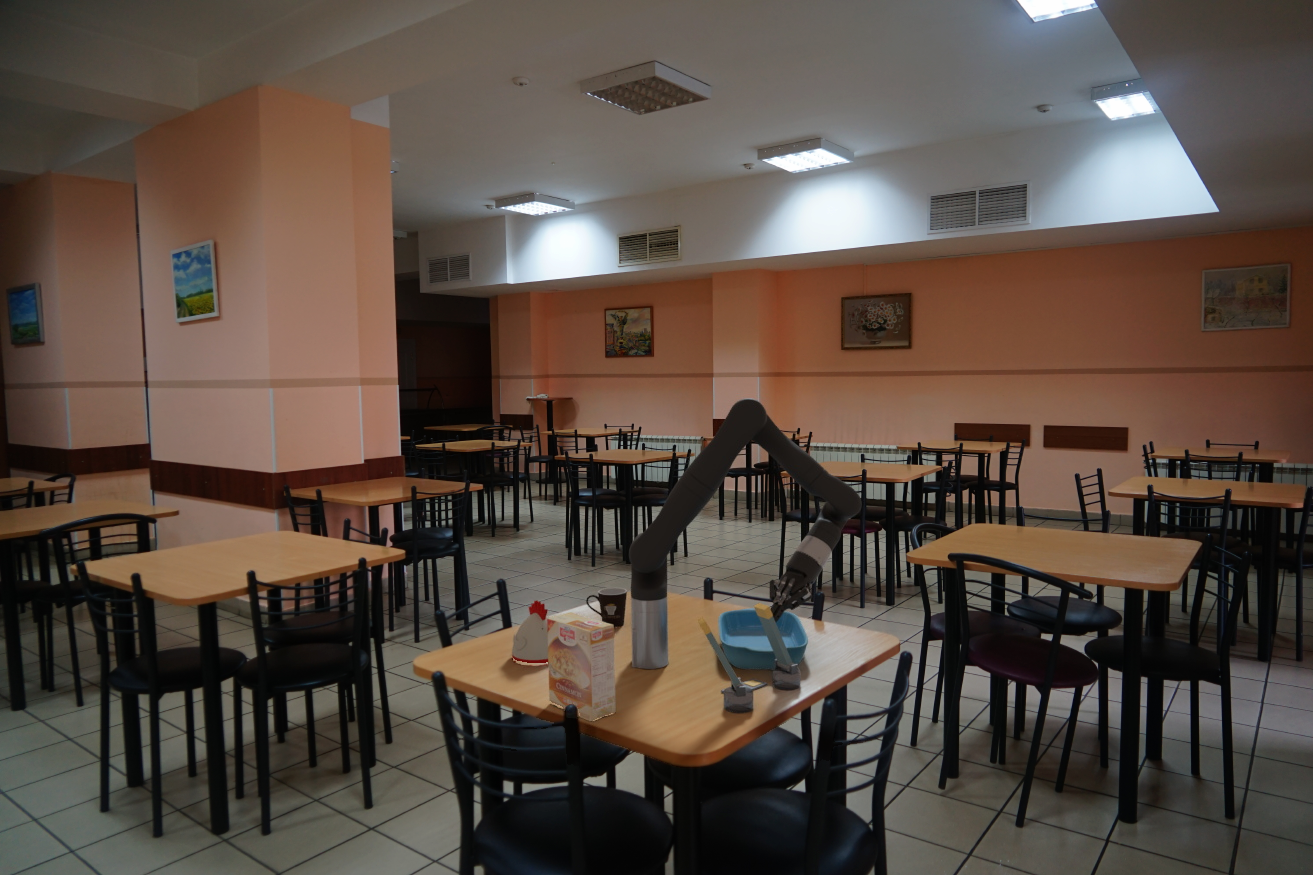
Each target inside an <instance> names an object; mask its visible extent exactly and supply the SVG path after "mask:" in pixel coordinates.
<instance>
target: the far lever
mask: <svg viewBox="0 0 1313 875" xmlns="http://www.w3.org/2000/svg"><path fill="white" fill-rule="evenodd" d="M753 608H755V610H756V613H757V615H758V617H759V619H760V621H761V624H762V626H763V628H764V631H765V633H766V635H767V638H768V640H769V642H770V645H771V647H772V649H773V652H774V654H775V656H776V659H777V661H778V662H777V665H778V666H779V667H781V668H783V669H786V670H788V671H790V665H794V663H792V660H791V658H790V656H789V653H788V651H787V648H786V646H785V644H784V641H783V639H782V637H781V634H780V632H779V629H778V627H777V625H776V622H775V620H774V617H773V614H772V612H771V610H770V609H771V607H770V606H769V605H767V604H763V603H760V602H758V603H757V604H755V605H753Z"/></svg>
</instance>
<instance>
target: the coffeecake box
mask: <svg viewBox="0 0 1313 875" xmlns="http://www.w3.org/2000/svg"><path fill="white" fill-rule="evenodd" d="M547 628H548V665H547V666H548V689H549V690H548V694H549V695H548V697H549V699H548V701H551V702H552V703H555V704H557V705H560V706H562V707H563V709H564V707H565V706H567V705H569V704H574V705H576V706H577V707H578V709H579V713H580V717H579V718H581V719H584V720H586V721H588V720H590V721H593V720H595V719H597V718H600V717H603V716H605V715H609V714H611V713H615V712H616V709H617V708H616V675H615V674H616V672H615V671H616V670H615V668H616V667H615V634H614V633H615V632H614V630H615V629H614V628H615V627H614V625H613V624H609V623H605V622H602V620H598V619H595V618H592V617H588V616H584V615H582V614H578V613H574V612H571V611H570V612H566V613H563V614H558V615H553V616H549V618H547ZM615 714H616V713H615ZM590 721H589V722H590Z"/></svg>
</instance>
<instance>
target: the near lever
mask: <svg viewBox="0 0 1313 875" xmlns="http://www.w3.org/2000/svg"><path fill="white" fill-rule="evenodd" d="M696 621H697V623H698V625H699V627H700V629H701V630H702V631H703V633H704V634H703V635H705V637H706V638H707V640H708V642H709V644H710V645H711V647H712V649H713V651H714V652H715V654H716V656H717V658H718V659H719V661H720V662H721V664H722V666H723V668H724V670H725V671H726V672H725V673H726V674H727V676H729V677H728V678H730V680H732V685H733V686H734V688H735V690H736V686H744V685H743V684H742V682H743V681H742V680H740V679H739V678H740V677H738V676H737V675H736V673H735V671H734V669H733V667H732V664H731V663H730V662H729V661H728V659H727V658H726V655H725V653H724V650H723V649H722V648H721V647H720V644H719V643H718V641H717V639H716V638H715V635H714V633H713V632H712V630H711V628H710V626H709V625H708V623H707V621H706V619H705V618H704V616H702V617H699V618H698V619H697V620H696Z"/></svg>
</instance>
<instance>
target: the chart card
mask: <svg viewBox="0 0 1313 875" xmlns="http://www.w3.org/2000/svg"><path fill="white" fill-rule="evenodd" d="M741 682H742V684H743V685H744V686H745V687H748V688H750V689H752V690H753V691H755V690H758V689H760V688H763V687H766V686H768V682H766V681H763V680H759V679H757V678H751V679H748V680H746V681H745V680H744V681H741ZM724 689H725V688H723V689H720V692H721V693H723V694H724Z"/></svg>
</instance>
